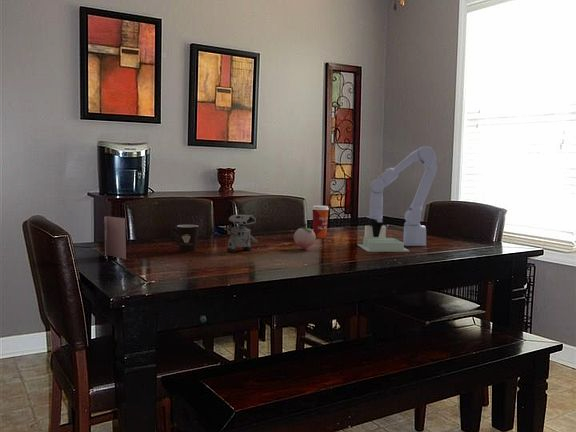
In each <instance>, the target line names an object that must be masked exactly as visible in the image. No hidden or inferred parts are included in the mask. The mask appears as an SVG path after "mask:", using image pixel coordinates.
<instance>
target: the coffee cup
mask: <svg viewBox="0 0 576 432" xmlns="http://www.w3.org/2000/svg"><path fill="white" fill-rule="evenodd" d="M311 209H312V231H313V232H314V233H315V235H316V238H315V239H326V237H327V232H328V231H327V229H328V218H329V210H330V208H329V206H328V205H313V206H312V208H311Z"/></svg>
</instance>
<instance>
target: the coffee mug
mask: <svg viewBox="0 0 576 432" xmlns="http://www.w3.org/2000/svg"><path fill="white" fill-rule="evenodd" d="M199 227H200V225H197V224H178V225H176V228H170V229H169V230H167V236H168V238H169V239H170V240H171V241H173V242H174V243H176V244H177V245H178V247H179V248H178V249H179V252H181V253H194V252H196V251H197V245H198V244H197V243H198V237H199V236H198V235H199V229H200V228H199ZM171 231H174V232H175V233H176V234H177V239H178V241H177V240H175V239H174V238H172V237H171V236H170V232H171Z"/></svg>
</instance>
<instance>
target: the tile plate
mask: <svg viewBox="0 0 576 432" xmlns="http://www.w3.org/2000/svg"><path fill="white" fill-rule="evenodd" d="M386 234H387V226H386V225H382V227H381V230H380V233H379V237H374V236H373V229H372V226H370V225H365V226H364V238H387V235H386Z"/></svg>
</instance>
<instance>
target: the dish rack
mask: <svg viewBox="0 0 576 432" xmlns="http://www.w3.org/2000/svg"><path fill="white" fill-rule="evenodd" d="M357 246H358V247H360V248H361V249H363V250H364V251H366V252H367V253H369V252H370V253H373V252H374V253H379V252H380V253H381V252H383V253H384V252H386V253H387V252H388V253H389V252H390V253H391V252H393V253H400V252H401V253H403V252H404V253H407V252H408V253H410V250H409V249H407V248H406V247H405V245H404V242H403V241H401V240H399V239H397V238H395V237H386V238H365V237H363V238H362V243H357Z"/></svg>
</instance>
